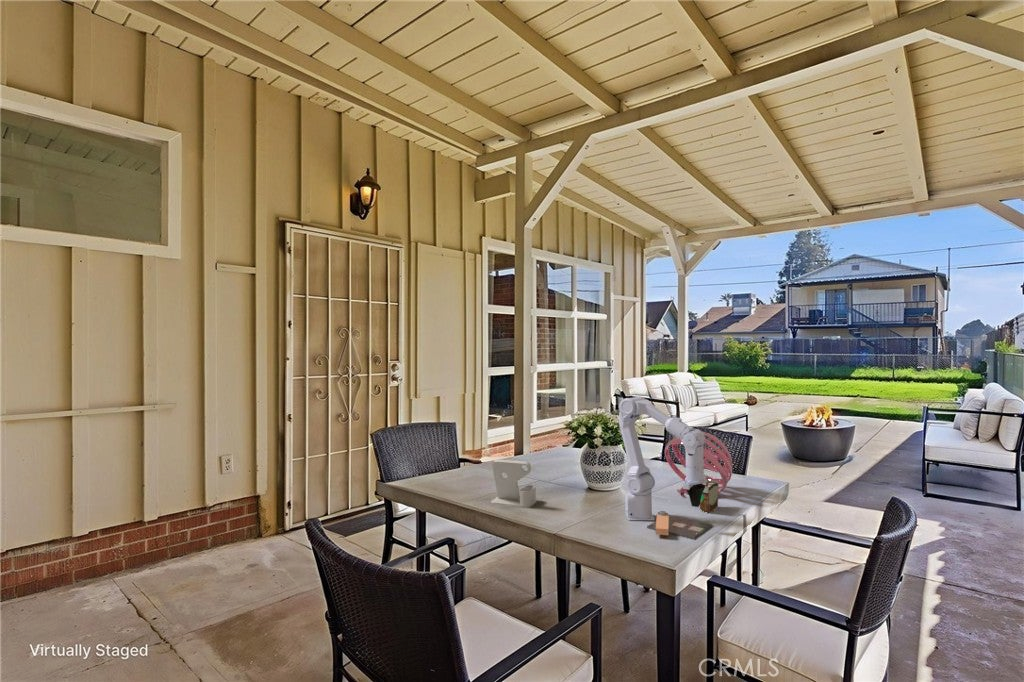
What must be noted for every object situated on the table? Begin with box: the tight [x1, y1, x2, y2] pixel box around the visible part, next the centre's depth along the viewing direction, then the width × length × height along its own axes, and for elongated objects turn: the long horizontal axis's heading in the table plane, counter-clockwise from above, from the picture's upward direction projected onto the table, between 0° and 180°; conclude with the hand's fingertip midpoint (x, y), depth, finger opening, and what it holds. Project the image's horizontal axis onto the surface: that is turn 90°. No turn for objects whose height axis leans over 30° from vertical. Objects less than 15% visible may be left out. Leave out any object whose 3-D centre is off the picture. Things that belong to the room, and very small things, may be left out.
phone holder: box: [490, 459, 537, 509], centre depth 210 cm, size 17×10×18 cm, turn 68°
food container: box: [699, 480, 720, 514], centre depth 197 cm, size 12×6×10 cm, turn 141°
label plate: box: [646, 514, 713, 540], centre depth 178 cm, size 16×17×1 cm
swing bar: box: [655, 510, 670, 536], centre depth 176 cm, size 17×4×3 cm, turn 163°
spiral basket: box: [664, 431, 733, 496], centre depth 216 cm, size 28×28×27 cm
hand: (695, 506), depth 174 cm, fingers closed
